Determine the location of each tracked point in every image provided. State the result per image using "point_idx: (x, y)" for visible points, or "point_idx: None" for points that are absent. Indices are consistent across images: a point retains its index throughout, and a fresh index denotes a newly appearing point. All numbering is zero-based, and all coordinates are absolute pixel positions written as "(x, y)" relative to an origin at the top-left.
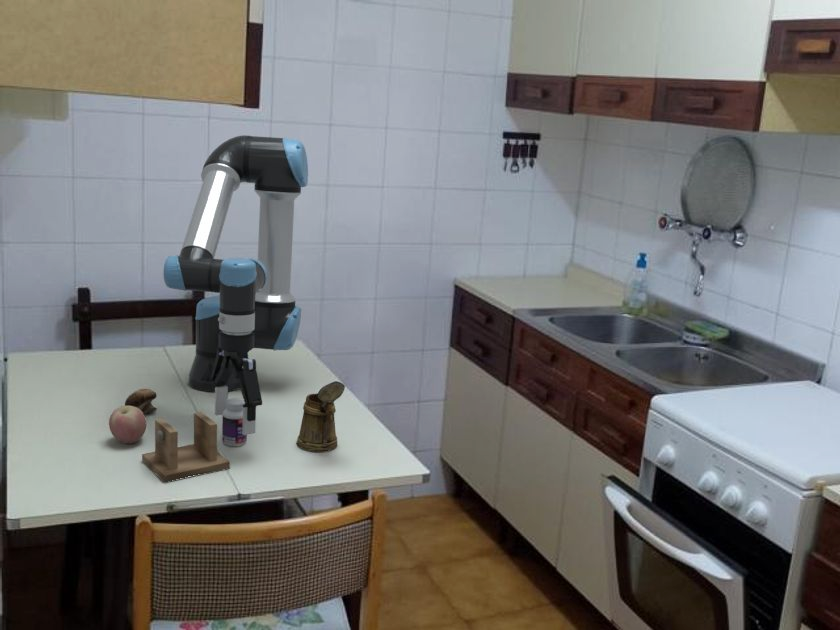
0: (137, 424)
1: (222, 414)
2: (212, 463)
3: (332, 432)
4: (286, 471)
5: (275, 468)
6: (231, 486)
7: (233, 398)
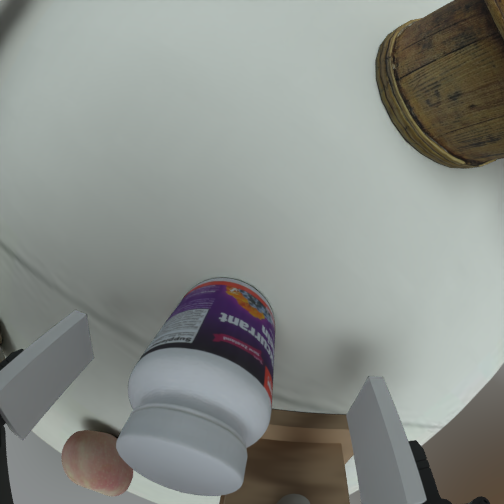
0: (123, 482)
1: (89, 333)
2: (346, 451)
3: None
4: (488, 317)
5: (463, 331)
6: (421, 431)
7: (119, 448)
